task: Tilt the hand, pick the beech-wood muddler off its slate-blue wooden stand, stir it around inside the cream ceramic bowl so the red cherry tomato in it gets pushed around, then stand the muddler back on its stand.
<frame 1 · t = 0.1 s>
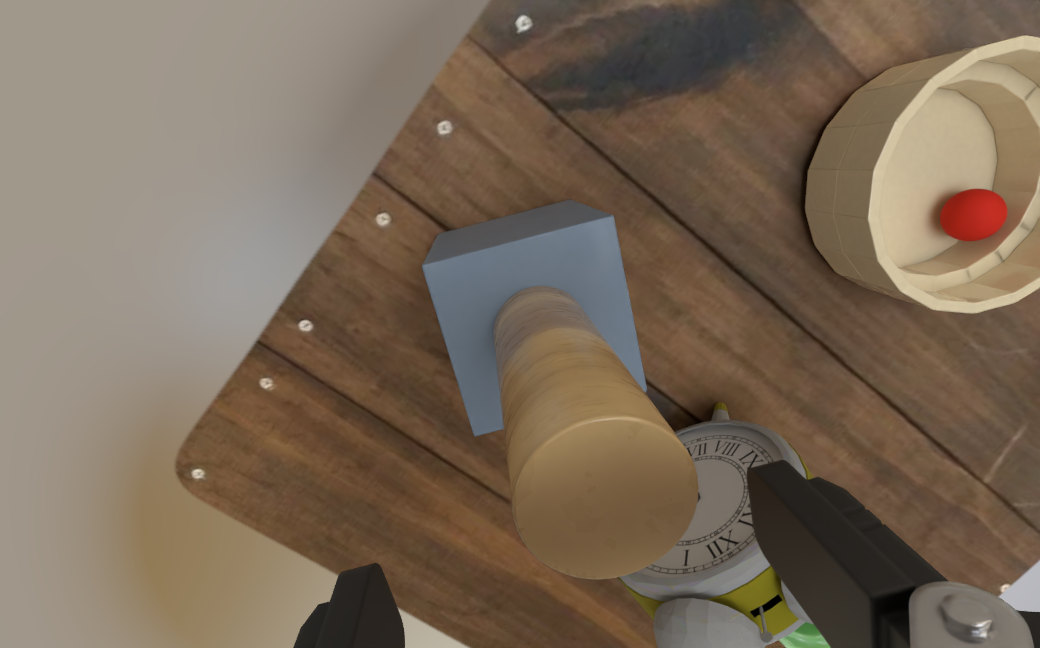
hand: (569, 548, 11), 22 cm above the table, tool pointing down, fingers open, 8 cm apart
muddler: (540, 331, 23), point 10 cm above the table, touching stand
alarm clock: (671, 461, 37), on the table
ramekin: (797, 558, 40), on the table
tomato: (972, 215, 31), point 2 cm above the table, touching bowl
stand: (520, 281, 32), on the table
bowl: (905, 180, 32), on the table
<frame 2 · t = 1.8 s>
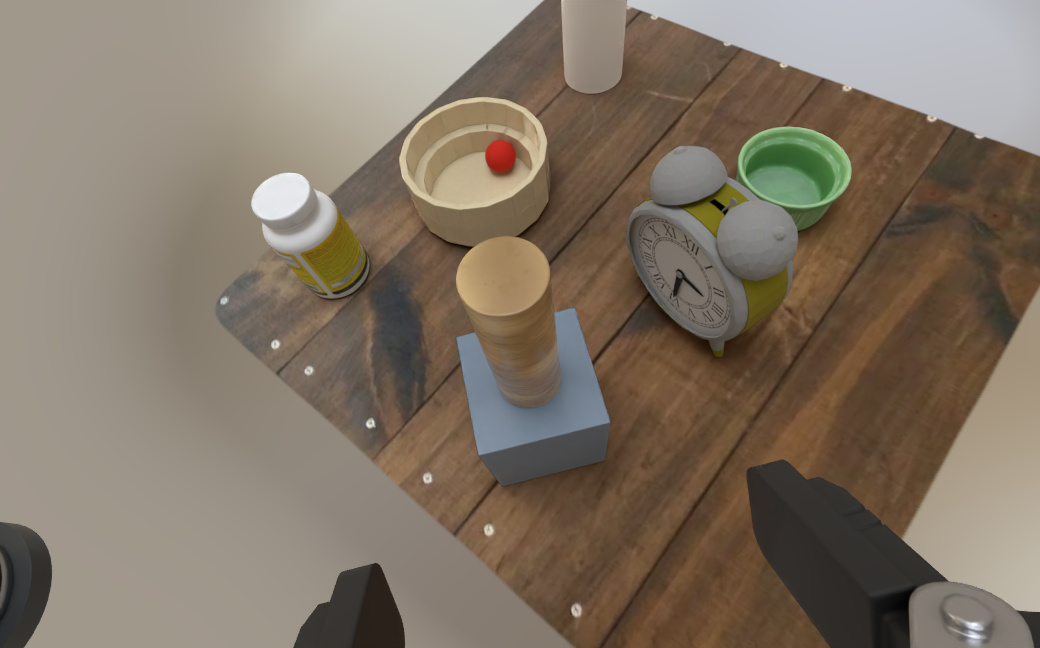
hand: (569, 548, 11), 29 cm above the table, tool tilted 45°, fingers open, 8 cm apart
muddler: (529, 377, 33), point 10 cm above the table, touching stand
alarm clock: (693, 302, 46), on the table
pill bottle: (340, 273, 51), on the table
ramekin: (777, 200, 49), on the table
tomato: (500, 156, 52), point 2 cm above the table, touching bowl
stand: (541, 423, 42), on the table
candle: (593, 74, 59), on the table
bowl: (483, 194, 53), on the table
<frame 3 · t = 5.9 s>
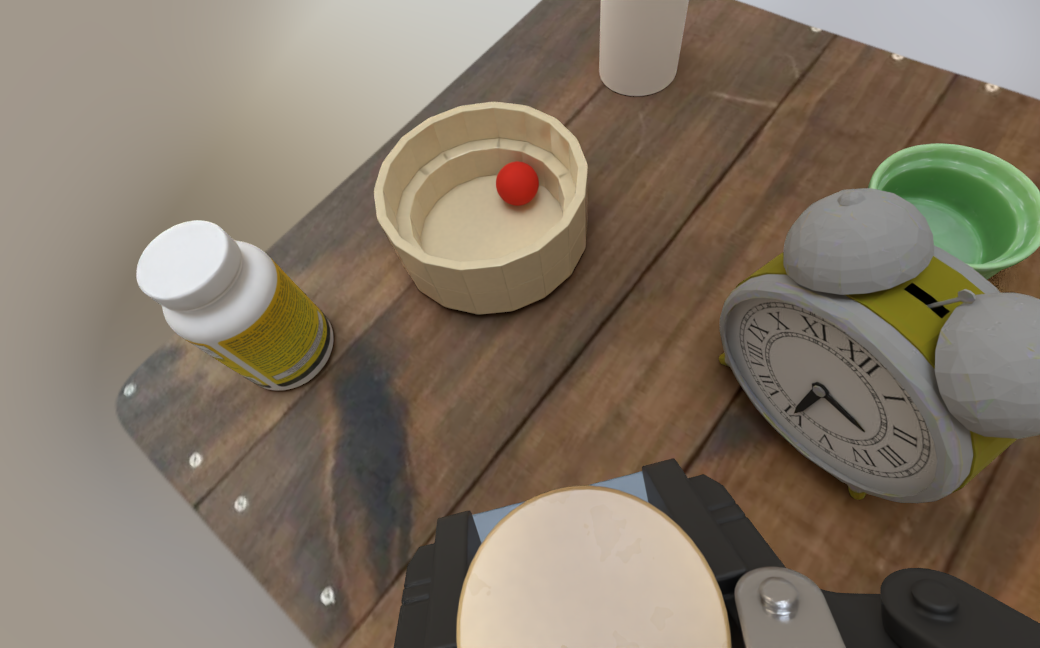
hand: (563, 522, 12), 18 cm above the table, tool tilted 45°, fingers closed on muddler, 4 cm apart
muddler: (587, 609, 18), point 10 cm above the table, touching gripper, stand
alarm clock: (806, 405, 31), on the table
pill bottle: (293, 350, 36), on the table
ramekin: (913, 247, 35), on the table
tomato: (517, 183, 38), point 2 cm above the table, touching bowl
stand: (587, 605, 27), on the table
candle: (637, 70, 45), on the table
bowl: (493, 236, 38), on the table
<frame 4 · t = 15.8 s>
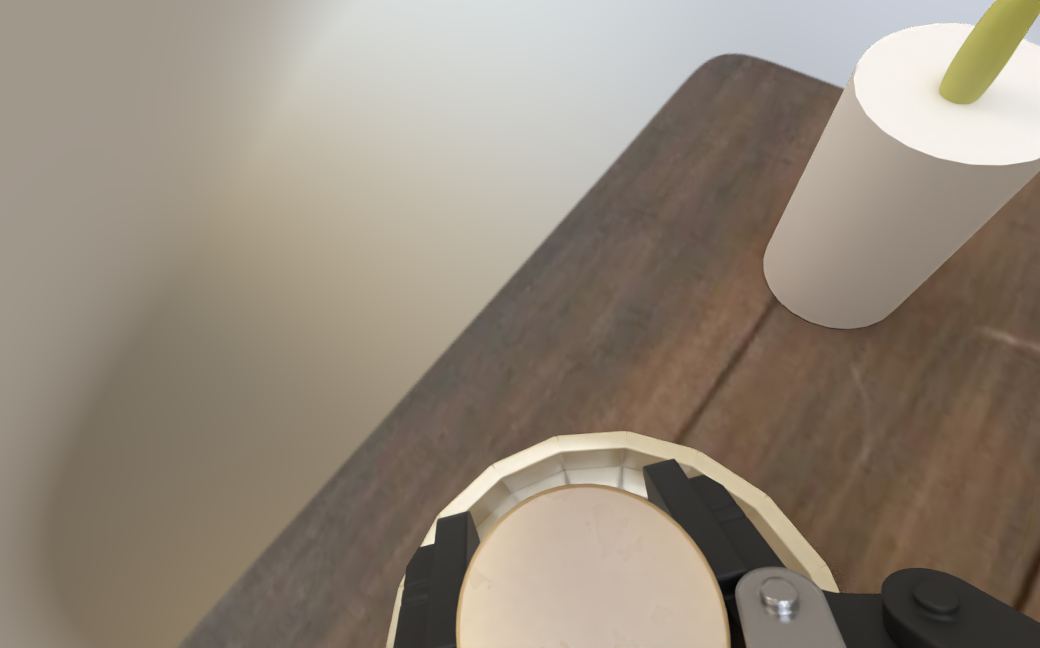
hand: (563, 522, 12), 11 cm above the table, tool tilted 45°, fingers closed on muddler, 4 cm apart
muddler: (587, 618, 18), point 3 cm above the table, touching gripper, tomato
candle: (831, 271, 26), on the table
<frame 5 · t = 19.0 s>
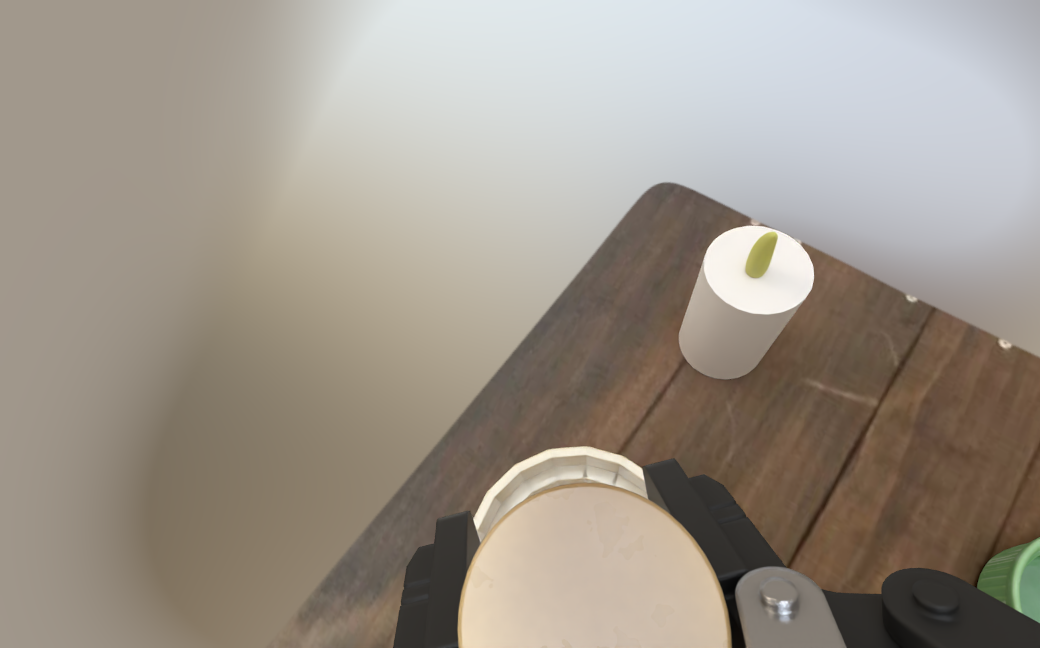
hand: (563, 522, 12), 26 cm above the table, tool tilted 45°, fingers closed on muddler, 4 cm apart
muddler: (585, 619, 18), point 18 cm above the table, touching gripper
candle: (720, 341, 42), on the table
bowl: (580, 567, 36), on the table
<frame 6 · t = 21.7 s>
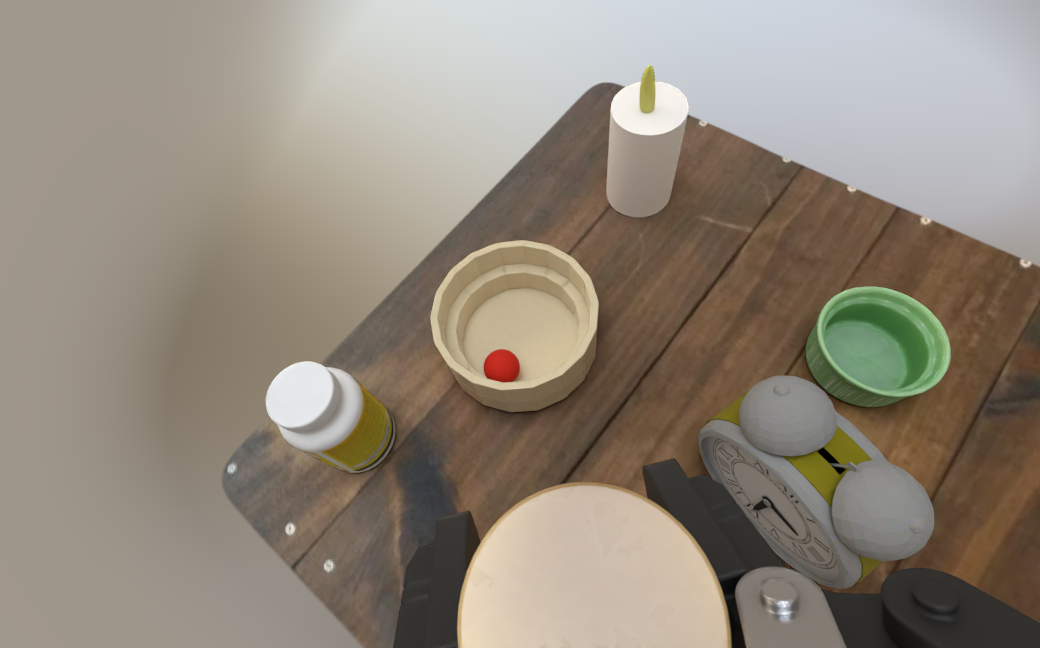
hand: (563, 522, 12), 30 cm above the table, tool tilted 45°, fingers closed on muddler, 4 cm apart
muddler: (585, 619, 18), point 22 cm above the table, touching gripper
alarm clock: (766, 493, 40), on the table
pill bottle: (362, 437, 45), on the table
ramekin: (855, 362, 44), on the table
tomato: (501, 367, 44), point 2 cm above the table, tilted 96°, touching bowl
candle: (638, 192, 54), on the table
bowl: (521, 341, 48), on the table
when the fingers open (18 cm above the table, at t = 25.6 s): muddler stays where it is, resting on stand.
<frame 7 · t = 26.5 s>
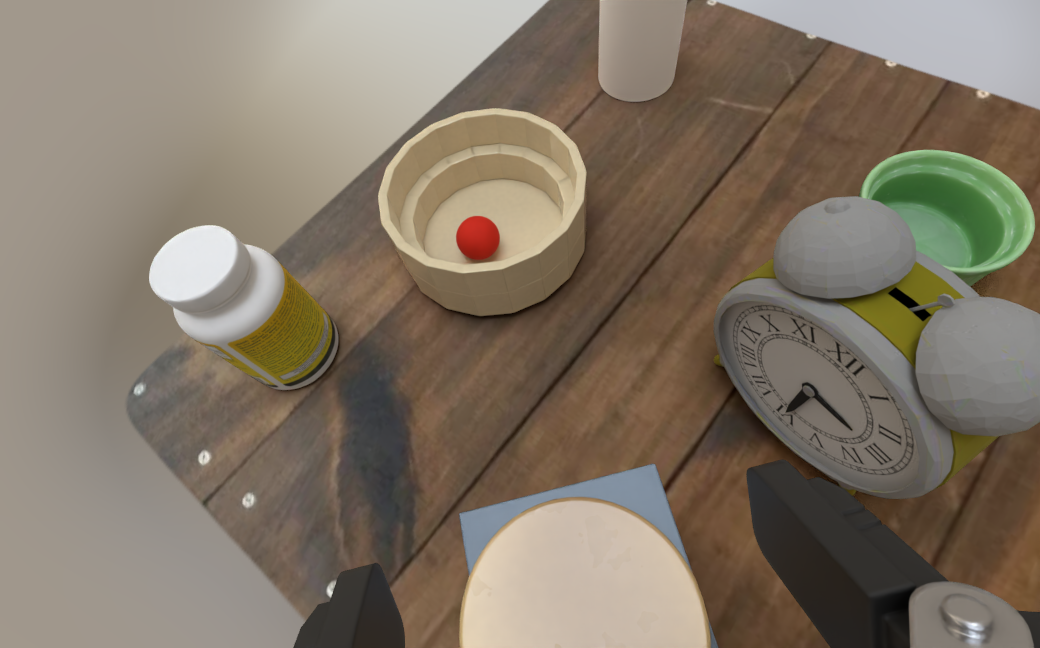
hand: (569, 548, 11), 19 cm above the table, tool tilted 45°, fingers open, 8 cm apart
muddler: (584, 610, 19), point 10 cm above the table, touching stand
alarm clock: (799, 405, 32), on the table
pill bottle: (299, 351, 37), on the table
ramekin: (905, 251, 35), on the table
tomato: (478, 238, 37), point 2 cm above the table, tilted 156°, touching bowl
stand: (585, 598, 28), on the table
candle: (636, 76, 46), on the table
bowl: (494, 239, 39), on the table
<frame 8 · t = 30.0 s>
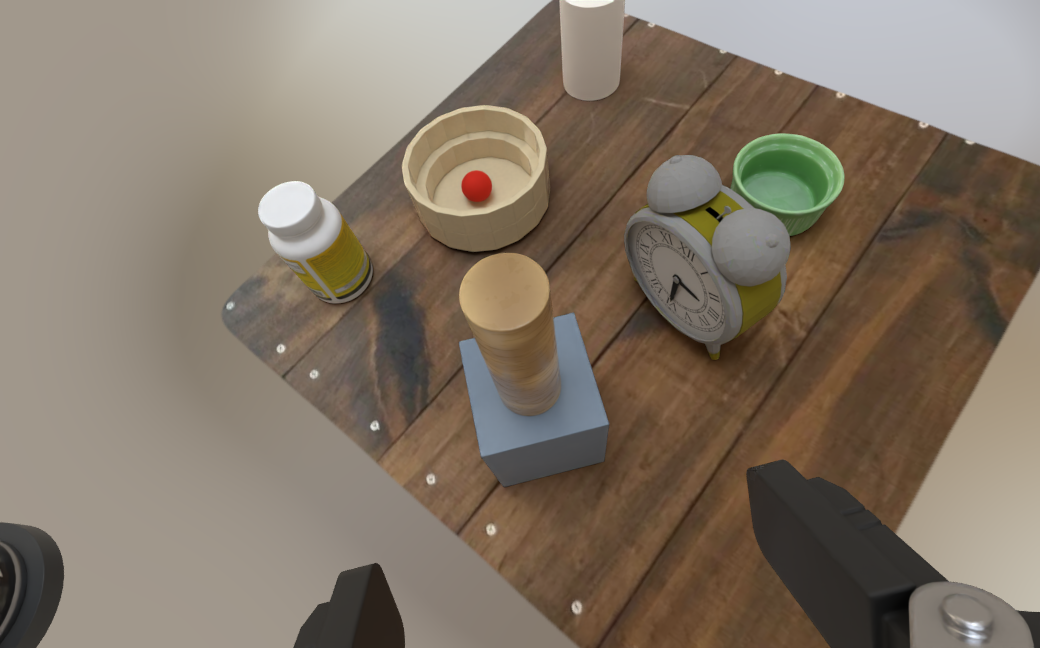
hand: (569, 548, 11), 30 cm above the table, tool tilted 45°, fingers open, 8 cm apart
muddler: (529, 385, 34), point 10 cm above the table, touching stand
alarm clock: (690, 306, 47), on the table
pill bottle: (344, 278, 52), on the table
ramekin: (772, 205, 50), on the table
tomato: (476, 186, 52), point 2 cm above the table, tilted 129°, touching bowl
stand: (541, 425, 43), on the table
candle: (591, 81, 60), on the table
bowl: (484, 200, 54), on the table
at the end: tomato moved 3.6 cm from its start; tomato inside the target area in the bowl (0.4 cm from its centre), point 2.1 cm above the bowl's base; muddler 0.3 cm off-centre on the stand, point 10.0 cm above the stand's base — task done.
